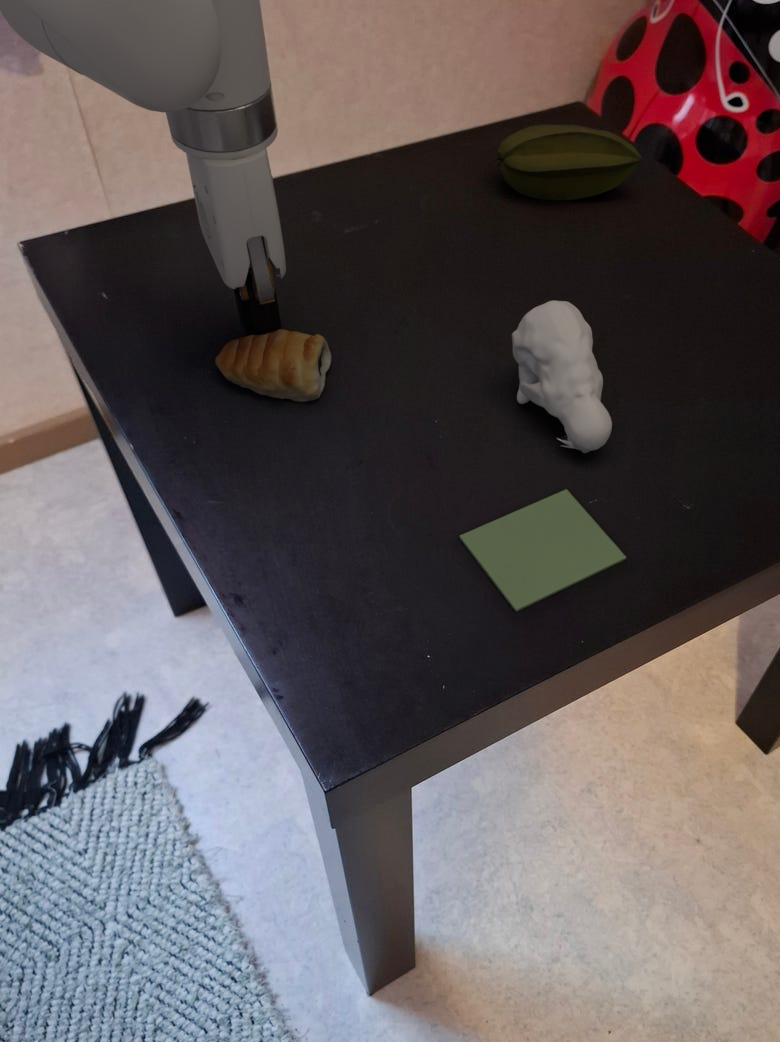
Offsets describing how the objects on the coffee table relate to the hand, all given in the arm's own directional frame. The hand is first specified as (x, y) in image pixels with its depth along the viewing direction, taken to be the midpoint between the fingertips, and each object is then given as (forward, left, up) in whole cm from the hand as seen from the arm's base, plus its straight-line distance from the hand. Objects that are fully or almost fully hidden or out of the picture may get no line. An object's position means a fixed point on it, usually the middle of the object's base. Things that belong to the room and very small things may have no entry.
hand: (261, 327), depth 79 cm
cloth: (+33, -1, -2) cm, 33 cm away
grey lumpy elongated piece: (+25, +11, -2) cm, 28 cm away
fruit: (+3, +38, -2) cm, 39 cm away
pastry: (+5, -2, -2) cm, 5 cm away
